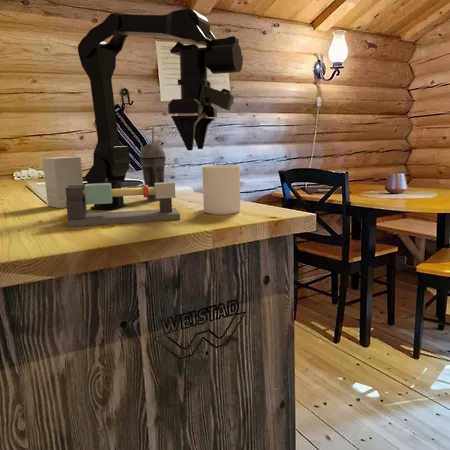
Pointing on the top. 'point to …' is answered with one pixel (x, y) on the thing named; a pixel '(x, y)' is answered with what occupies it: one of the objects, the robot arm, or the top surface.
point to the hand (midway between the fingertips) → (195, 149)
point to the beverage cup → (152, 164)
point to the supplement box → (61, 178)
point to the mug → (221, 189)
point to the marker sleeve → (98, 193)
